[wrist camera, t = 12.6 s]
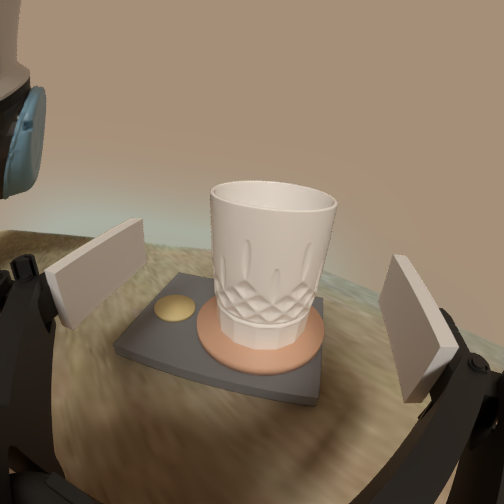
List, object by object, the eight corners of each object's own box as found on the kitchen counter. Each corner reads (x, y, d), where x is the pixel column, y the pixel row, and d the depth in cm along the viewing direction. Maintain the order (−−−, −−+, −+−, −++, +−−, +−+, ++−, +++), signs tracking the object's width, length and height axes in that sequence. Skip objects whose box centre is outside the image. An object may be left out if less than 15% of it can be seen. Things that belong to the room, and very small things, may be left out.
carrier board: (116, 353, 18) (110, 336, 17) (179, 280, 29) (178, 265, 28) (315, 406, 16) (321, 390, 15) (321, 306, 26) (324, 290, 26)
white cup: (238, 372, 16) (247, 216, 12) (196, 305, 22) (193, 183, 18) (331, 335, 20) (363, 207, 15) (276, 286, 26) (288, 179, 22)
